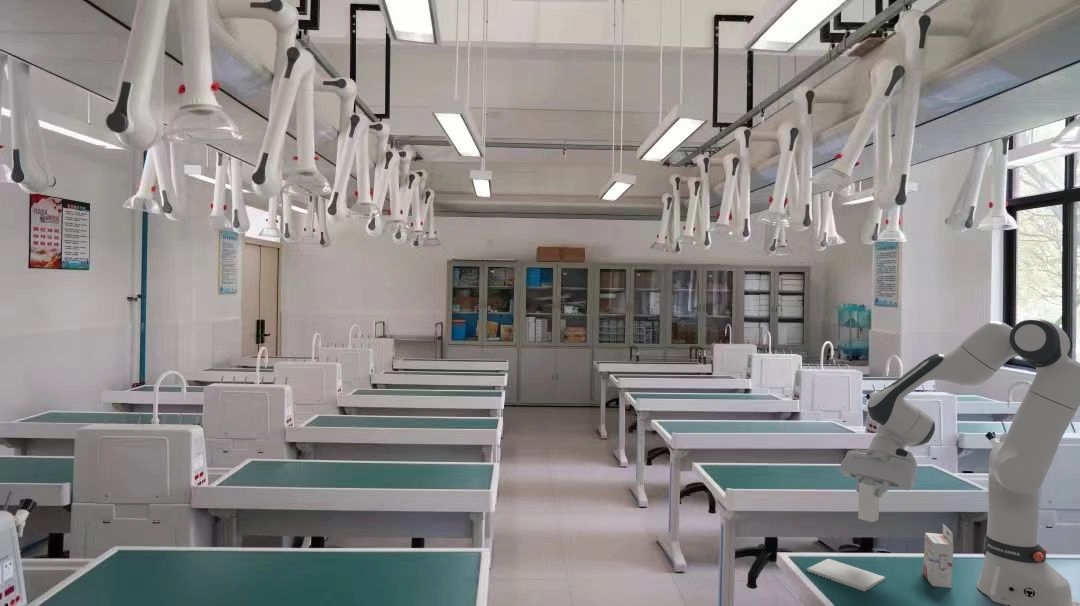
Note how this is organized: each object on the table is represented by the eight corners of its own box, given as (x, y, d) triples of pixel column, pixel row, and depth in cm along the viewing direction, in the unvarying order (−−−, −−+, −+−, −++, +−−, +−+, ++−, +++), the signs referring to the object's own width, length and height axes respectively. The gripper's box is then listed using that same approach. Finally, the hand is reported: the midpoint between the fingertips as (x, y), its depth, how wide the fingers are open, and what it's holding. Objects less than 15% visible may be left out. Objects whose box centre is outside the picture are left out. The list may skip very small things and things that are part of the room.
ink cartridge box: (921, 573, 201) (924, 521, 201) (941, 575, 200) (944, 522, 200) (931, 586, 193) (934, 531, 192) (952, 588, 192) (955, 533, 191)
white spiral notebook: (884, 579, 196) (885, 576, 196) (864, 591, 188) (864, 588, 188) (828, 561, 208) (828, 558, 208) (806, 571, 200) (806, 568, 200)
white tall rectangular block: (878, 519, 207) (879, 479, 207) (872, 522, 205) (873, 481, 204) (864, 515, 210) (865, 476, 210) (858, 518, 208) (859, 478, 207)
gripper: (846, 441, 219) (829, 479, 213) (917, 454, 204) (901, 495, 198) (852, 454, 222) (836, 491, 216) (923, 467, 207) (908, 508, 201)
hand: (868, 493), depth 207 cm, fingers closed on white tall rectangular block, 4 cm apart
